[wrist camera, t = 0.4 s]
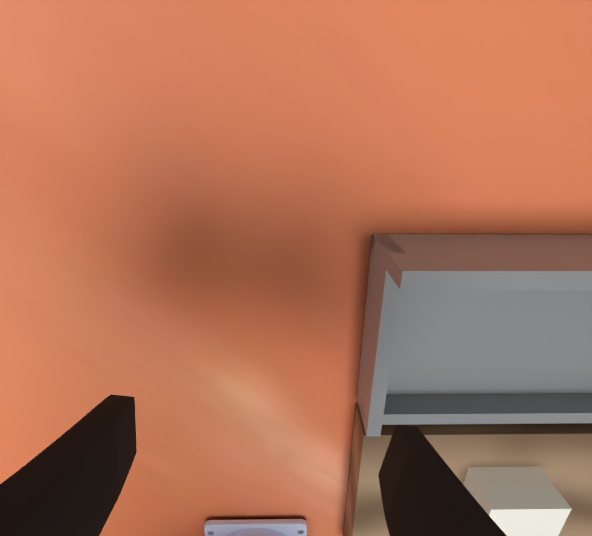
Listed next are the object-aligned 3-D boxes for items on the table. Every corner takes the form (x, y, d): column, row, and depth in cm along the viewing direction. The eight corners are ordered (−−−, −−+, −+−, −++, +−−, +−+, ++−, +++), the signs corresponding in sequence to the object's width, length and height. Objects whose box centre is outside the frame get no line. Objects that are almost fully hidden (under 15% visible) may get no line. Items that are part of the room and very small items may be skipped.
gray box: (629, 395, 22) (720, 466, 17) (356, 397, 21) (374, 469, 17) (709, 234, 18) (860, 271, 13) (372, 233, 17) (402, 271, 13)
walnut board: (560, 532, 27) (585, 569, 25) (342, 534, 27) (347, 572, 25) (626, 401, 22) (665, 433, 20) (356, 403, 22) (363, 435, 19)
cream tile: (520, 512, 22) (547, 556, 20) (454, 513, 22) (473, 558, 20) (540, 466, 21) (571, 508, 18) (468, 467, 20) (491, 509, 18)
